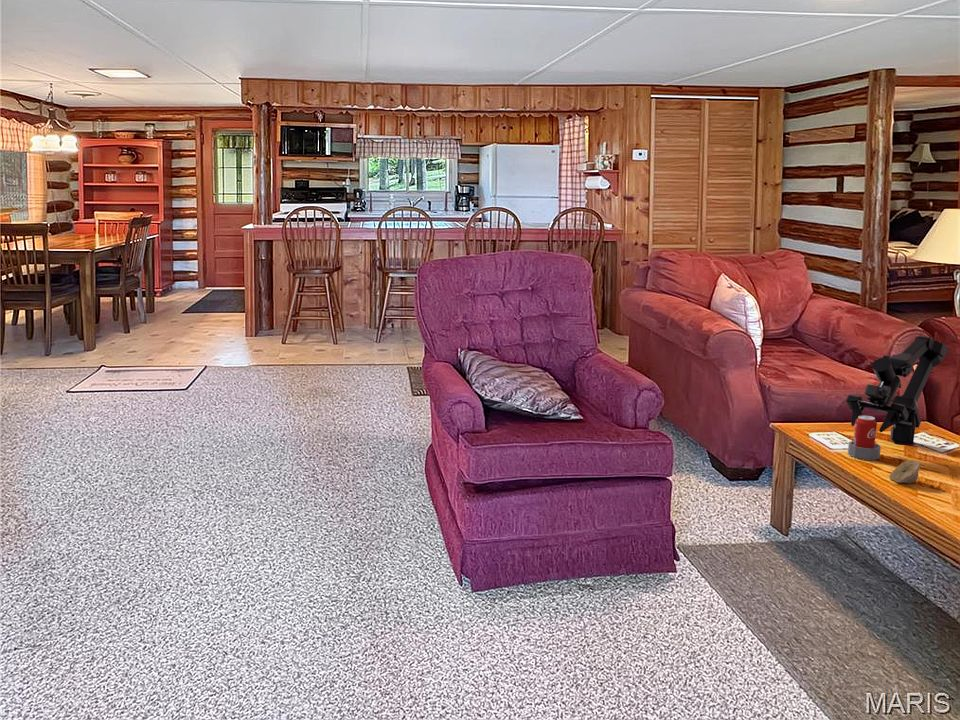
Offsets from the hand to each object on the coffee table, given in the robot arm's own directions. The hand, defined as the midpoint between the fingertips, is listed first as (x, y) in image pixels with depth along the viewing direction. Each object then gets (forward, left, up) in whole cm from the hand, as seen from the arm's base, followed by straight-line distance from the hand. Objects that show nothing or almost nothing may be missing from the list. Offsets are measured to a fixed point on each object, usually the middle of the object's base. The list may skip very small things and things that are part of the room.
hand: (865, 428), depth 288 cm
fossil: (-6, +25, -10) cm, 27 cm away
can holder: (0, 0, -9) cm, 9 cm away
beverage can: (0, 0, -9) cm, 9 cm away
